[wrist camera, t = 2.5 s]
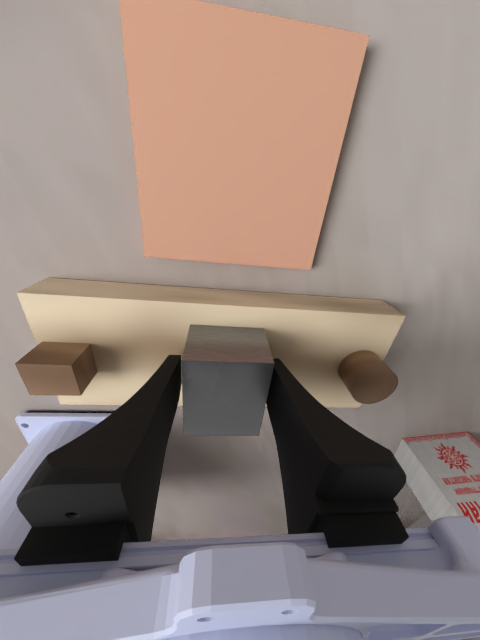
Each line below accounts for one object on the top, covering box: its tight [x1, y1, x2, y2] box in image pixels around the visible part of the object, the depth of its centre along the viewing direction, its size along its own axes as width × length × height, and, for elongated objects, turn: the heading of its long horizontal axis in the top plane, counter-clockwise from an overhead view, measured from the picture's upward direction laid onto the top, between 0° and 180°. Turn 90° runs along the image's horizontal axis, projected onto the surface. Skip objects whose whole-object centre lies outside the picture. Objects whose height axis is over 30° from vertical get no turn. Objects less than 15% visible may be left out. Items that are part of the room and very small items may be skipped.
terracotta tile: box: [119, 0, 370, 270], centre depth 10 cm, size 9×9×1 cm
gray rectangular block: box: [181, 324, 275, 436], centre depth 12 cm, size 5×4×3 cm
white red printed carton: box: [394, 432, 480, 531], centre depth 19 cm, size 4×7×10 cm, turn 93°
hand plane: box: [15, 278, 406, 408], centre depth 14 cm, size 8×20×4 cm, turn 84°
